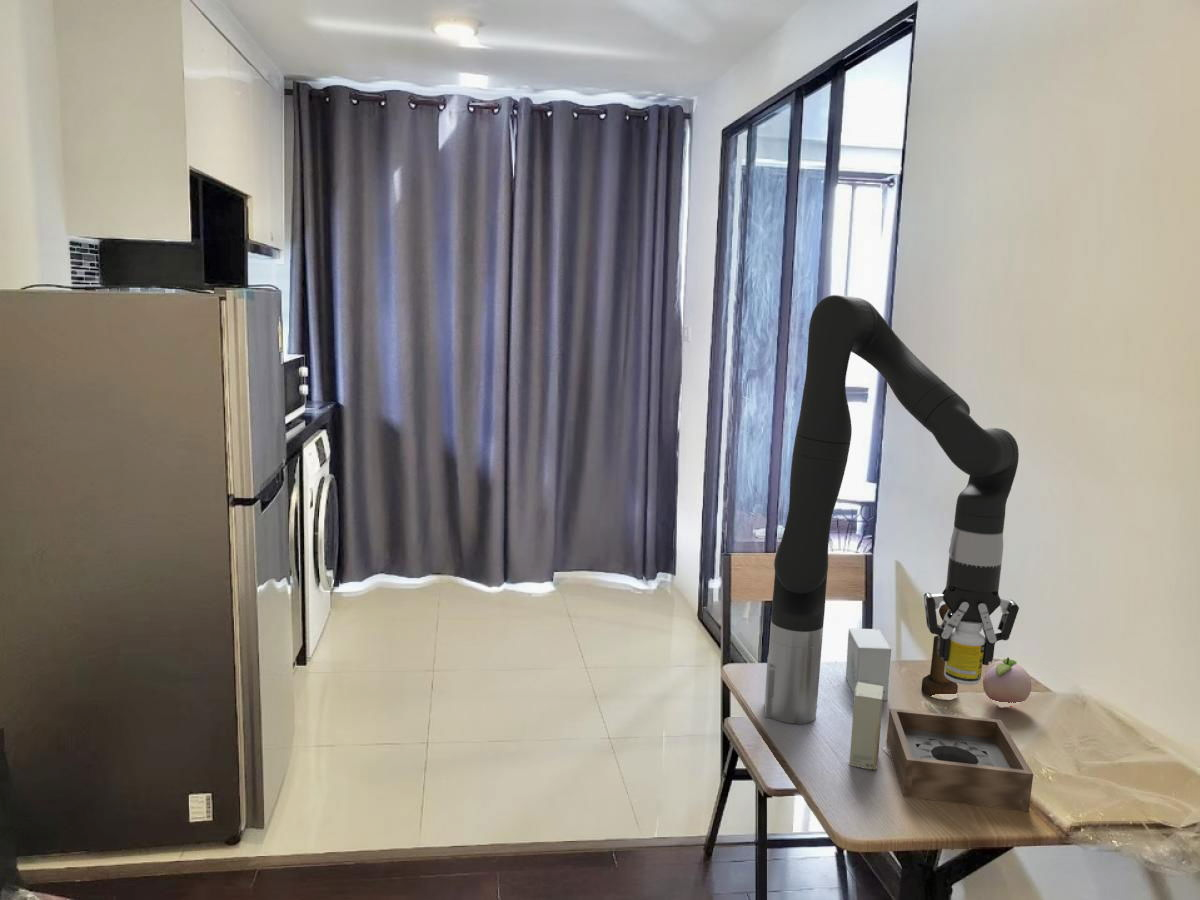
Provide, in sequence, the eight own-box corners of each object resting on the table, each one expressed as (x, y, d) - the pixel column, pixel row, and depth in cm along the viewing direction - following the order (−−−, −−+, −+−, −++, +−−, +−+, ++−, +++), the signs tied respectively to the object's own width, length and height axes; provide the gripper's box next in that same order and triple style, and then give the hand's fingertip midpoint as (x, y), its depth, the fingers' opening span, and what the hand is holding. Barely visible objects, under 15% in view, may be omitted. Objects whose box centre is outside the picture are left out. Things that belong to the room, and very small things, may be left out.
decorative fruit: (1026, 723, 163) (1032, 671, 161) (977, 712, 167) (983, 661, 165) (1030, 704, 171) (1036, 654, 169) (983, 694, 175) (989, 645, 173)
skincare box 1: (843, 676, 181) (847, 626, 179) (876, 678, 181) (880, 628, 179) (853, 698, 171) (858, 646, 169) (888, 701, 170) (893, 648, 169)
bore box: (903, 796, 137) (906, 759, 136) (886, 741, 154) (889, 708, 153) (1028, 811, 134) (1033, 774, 133) (997, 753, 151) (1000, 719, 150)
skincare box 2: (876, 771, 144) (882, 700, 142) (847, 766, 145) (853, 695, 143) (878, 754, 150) (885, 685, 148) (851, 748, 151) (857, 680, 149)
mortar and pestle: (964, 696, 174) (973, 607, 171) (943, 703, 170) (953, 612, 167) (934, 683, 179) (943, 597, 176) (914, 690, 175) (922, 602, 172)
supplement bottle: (983, 687, 138) (990, 627, 137) (947, 683, 139) (953, 623, 138) (976, 674, 144) (983, 615, 142) (940, 670, 145) (947, 612, 143)
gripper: (931, 560, 136) (921, 666, 138) (1032, 568, 133) (1019, 675, 136) (922, 547, 143) (912, 648, 146) (1017, 554, 141) (1005, 656, 143)
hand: (964, 660), depth 141 cm, fingers closed on supplement bottle, 5 cm apart
